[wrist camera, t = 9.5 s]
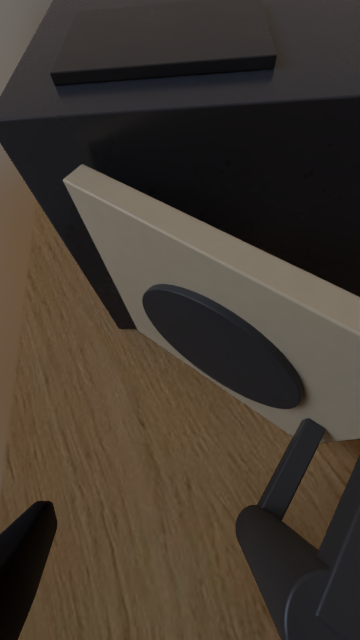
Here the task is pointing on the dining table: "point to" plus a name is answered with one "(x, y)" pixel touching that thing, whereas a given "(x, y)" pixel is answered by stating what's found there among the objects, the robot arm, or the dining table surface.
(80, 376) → the dining table surface
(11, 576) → the robot arm
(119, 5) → the washer
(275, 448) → the dining table surface
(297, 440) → the washer door
